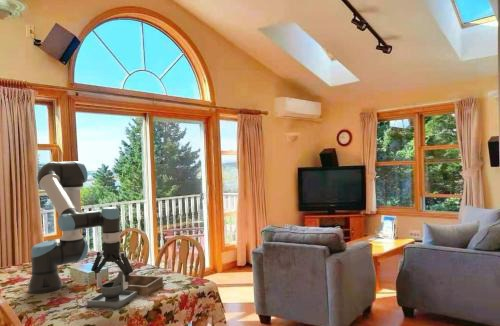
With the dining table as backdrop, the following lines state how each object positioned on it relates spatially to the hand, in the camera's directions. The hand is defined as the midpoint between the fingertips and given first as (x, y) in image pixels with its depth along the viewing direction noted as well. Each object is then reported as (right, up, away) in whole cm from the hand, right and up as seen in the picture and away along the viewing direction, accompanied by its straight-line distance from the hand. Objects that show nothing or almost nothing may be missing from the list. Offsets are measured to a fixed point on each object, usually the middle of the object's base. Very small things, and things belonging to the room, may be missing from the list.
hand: (112, 287), depth 178 cm
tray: (0, -6, 0) cm, 6 cm away
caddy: (+5, -6, +16) cm, 18 cm away
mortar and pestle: (+1, -5, 0) cm, 5 cm away
